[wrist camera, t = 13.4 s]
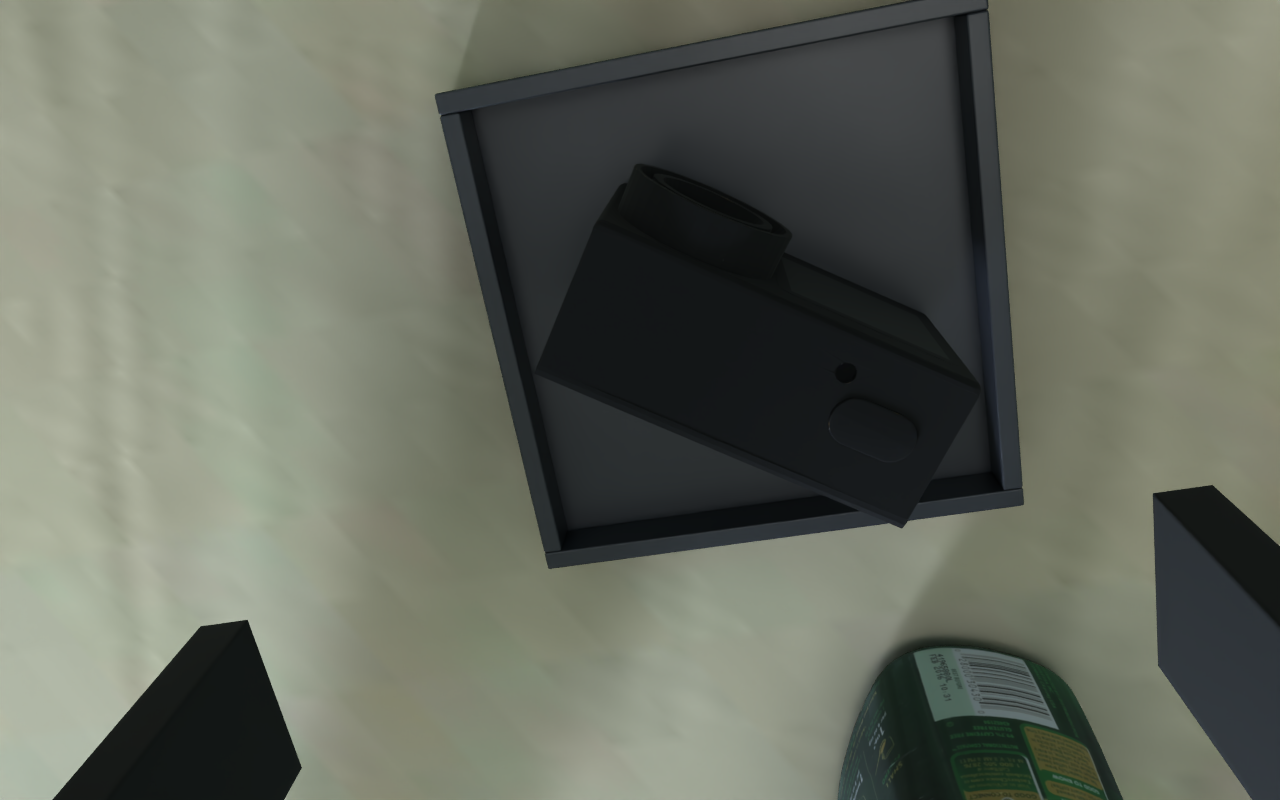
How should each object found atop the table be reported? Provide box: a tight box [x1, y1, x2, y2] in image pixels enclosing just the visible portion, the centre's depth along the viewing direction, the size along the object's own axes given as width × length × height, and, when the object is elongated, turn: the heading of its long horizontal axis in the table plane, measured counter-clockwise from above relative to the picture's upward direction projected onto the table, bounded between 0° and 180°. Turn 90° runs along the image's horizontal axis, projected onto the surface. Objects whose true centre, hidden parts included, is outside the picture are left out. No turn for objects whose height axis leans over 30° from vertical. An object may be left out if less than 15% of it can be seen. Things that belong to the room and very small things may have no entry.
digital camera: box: [534, 164, 981, 528], centre depth 28 cm, size 10×5×7 cm, turn 67°
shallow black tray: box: [435, 0, 1024, 569], centre depth 31 cm, size 15×15×2 cm
